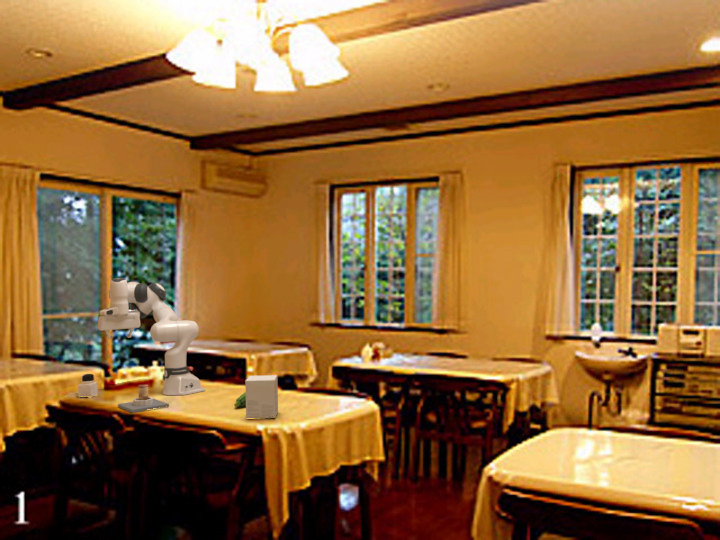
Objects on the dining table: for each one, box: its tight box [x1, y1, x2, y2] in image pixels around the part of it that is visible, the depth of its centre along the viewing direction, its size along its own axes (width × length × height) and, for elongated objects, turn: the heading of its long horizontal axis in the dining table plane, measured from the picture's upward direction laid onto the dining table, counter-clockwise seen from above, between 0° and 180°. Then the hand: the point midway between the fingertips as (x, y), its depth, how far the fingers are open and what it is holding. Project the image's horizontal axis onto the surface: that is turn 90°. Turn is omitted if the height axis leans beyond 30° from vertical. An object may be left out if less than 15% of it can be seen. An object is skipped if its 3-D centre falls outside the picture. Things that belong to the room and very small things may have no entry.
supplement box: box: [244, 374, 279, 419], centre depth 288 cm, size 13×13×18 cm
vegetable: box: [234, 391, 246, 409], centre depth 312 cm, size 7×7×20 cm
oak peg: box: [138, 384, 149, 400], centre depth 311 cm, size 4×4×9 cm
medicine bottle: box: [77, 373, 98, 397], centre depth 338 cm, size 7×7×12 cm
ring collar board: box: [117, 396, 170, 414], centre depth 311 cm, size 18×18×4 cm
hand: (119, 338), depth 316 cm, fingers open, 8 cm apart
